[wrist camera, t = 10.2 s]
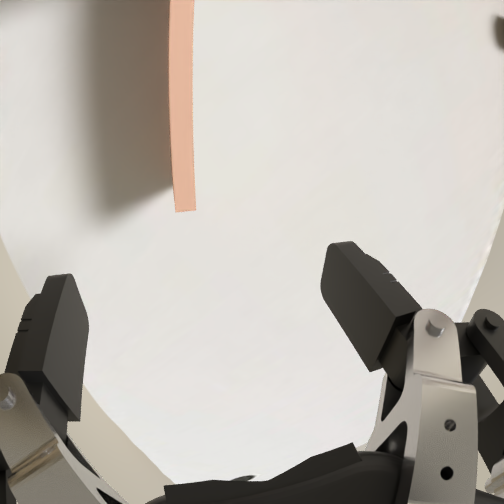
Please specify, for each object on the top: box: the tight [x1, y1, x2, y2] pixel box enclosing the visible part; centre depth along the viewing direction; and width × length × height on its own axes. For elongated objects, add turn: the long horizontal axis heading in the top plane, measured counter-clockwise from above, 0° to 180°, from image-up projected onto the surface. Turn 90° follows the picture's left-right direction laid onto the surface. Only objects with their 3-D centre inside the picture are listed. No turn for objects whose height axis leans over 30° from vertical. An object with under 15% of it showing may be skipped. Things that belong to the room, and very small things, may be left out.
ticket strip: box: [168, 0, 196, 212], centre depth 14 cm, size 23×1×5 cm, turn 179°
